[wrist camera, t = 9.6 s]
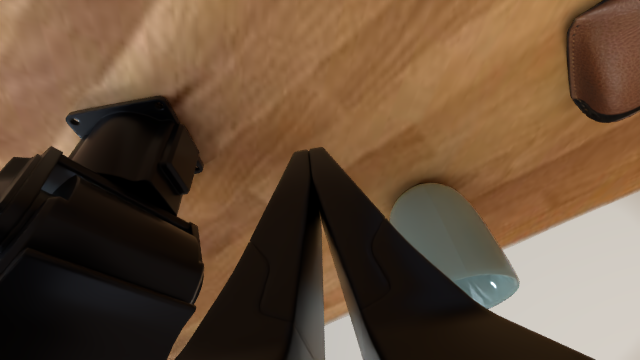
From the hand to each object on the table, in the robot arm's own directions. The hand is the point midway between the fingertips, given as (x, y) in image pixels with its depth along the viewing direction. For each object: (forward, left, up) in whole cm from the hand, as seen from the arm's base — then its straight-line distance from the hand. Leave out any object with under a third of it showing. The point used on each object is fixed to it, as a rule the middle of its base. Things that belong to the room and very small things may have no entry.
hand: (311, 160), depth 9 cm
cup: (+9, -18, -12) cm, 24 cm away
